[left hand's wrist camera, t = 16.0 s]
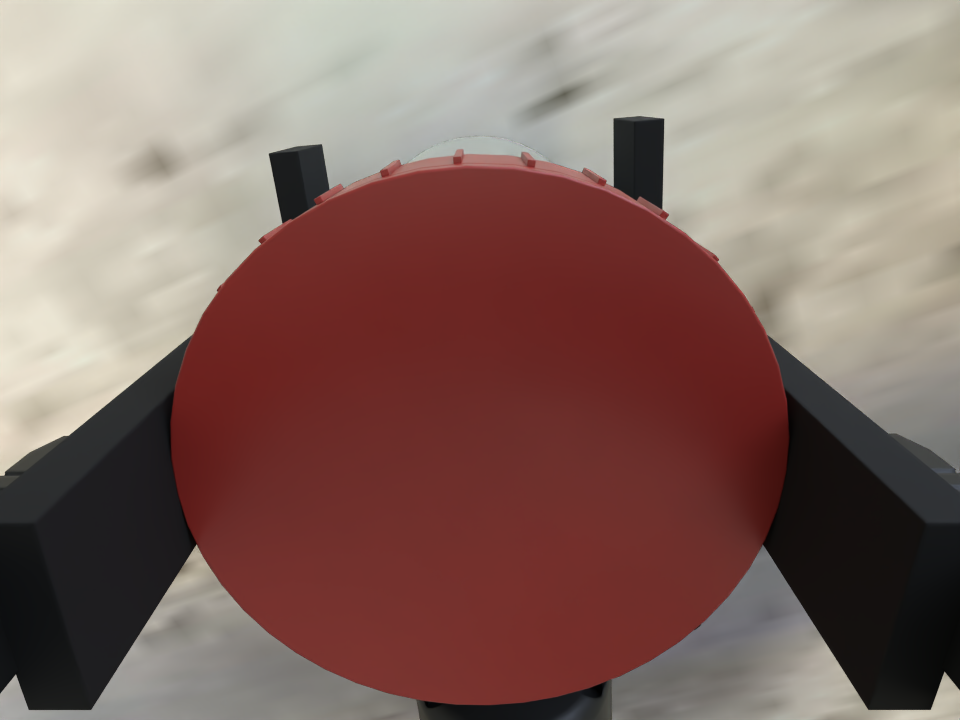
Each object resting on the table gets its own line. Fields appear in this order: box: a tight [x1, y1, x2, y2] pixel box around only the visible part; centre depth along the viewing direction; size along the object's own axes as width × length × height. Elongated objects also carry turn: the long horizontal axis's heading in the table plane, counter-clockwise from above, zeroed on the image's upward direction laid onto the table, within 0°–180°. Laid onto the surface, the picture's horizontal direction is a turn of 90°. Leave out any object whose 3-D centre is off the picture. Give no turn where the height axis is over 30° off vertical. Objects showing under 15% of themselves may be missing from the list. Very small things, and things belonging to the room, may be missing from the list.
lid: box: [170, 149, 789, 705], centre depth 11 cm, size 10×10×2 cm
